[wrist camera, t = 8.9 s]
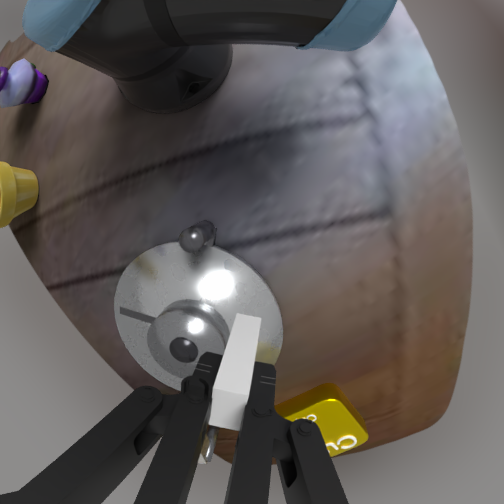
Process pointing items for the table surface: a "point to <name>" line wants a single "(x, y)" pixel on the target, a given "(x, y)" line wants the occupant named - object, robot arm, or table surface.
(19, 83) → the potion bottle
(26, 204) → the plant pot
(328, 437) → the element tile
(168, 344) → the cover
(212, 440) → the stand
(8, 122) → the table surface
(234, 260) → the turntable
